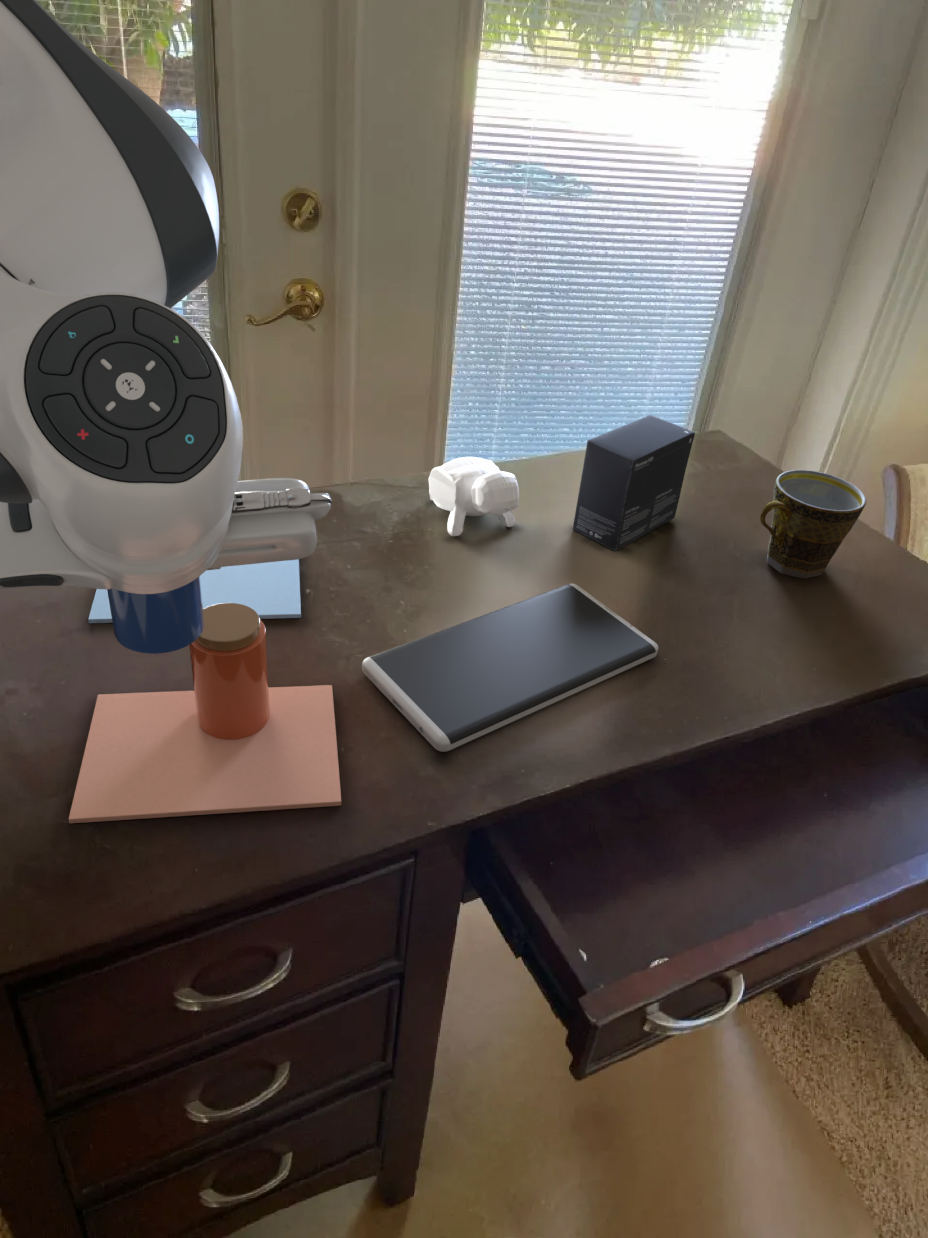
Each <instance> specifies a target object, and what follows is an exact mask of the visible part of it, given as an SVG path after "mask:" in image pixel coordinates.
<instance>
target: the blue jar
mask: <svg viewBox="0 0 928 1238" xmlns="http://www.w3.org/2000/svg"><path fill="white" fill-rule="evenodd" d="M107 592H108V598H109V604H110V610H111V616H112V622H113V623H112V627H113V634H114V636H115V639H116V640H117V642H118V643H119V644H120V645H121V646H122V647H124V648H126V649H127V650H130V651H132V652H135V653H140V654H149V655H157V654H158V655H159V654H167V653H172V652H175V651H179V650H181V649H184V648H186V647H189V645H190V644H191V643H193V642H194V641H195V640H196V639H197V638H198V637H199V636H200V635H201V633H202V631H203V629H204V616H203V605H202V594H201V583H200V576H199V577H198V578H196V579H195V580H194V581H192V582H190V583H188V584H187V585H184V586H182V587H180V588H177V589H174V590H171V591H167V592H163V593H156V594H135V593H128V592H124V591H120V590H116V589H114V588H111V589H107Z"/></svg>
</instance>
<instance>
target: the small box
mask: <svg viewBox="0 0 928 1238" xmlns="http://www.w3.org/2000/svg"><path fill="white" fill-rule="evenodd" d="M695 436H696V431H693V430H690V429H688V428H686V427H684V426H680V425H678V424H676V423H673V422H671V421H668V420H666V419H662V418H660V417H658V416H655V415H652V414H648V415H646V416H644V417H642V418H640V419H636V420H635V421H632V422H629V423H626V424H624V425H623V426H619V427H617V428H615V429H612V430H610V431H608V432H605V433H602V434H599V435H598V436H595V437H593V438H590V439H588V440H587V441H586V447H585V454H584V459H583V466H582V470H581V477H580V482H579V483H580V484H579V490H578V494H577V495H578V496H577V502H576V507H575V514H574V518H573V525H572V530H574V531H575V532H576V533H579V534H581V535H583V536H585V537H587V538H589V539H591V540H593V541H594V542H597V543H599V544H601V545H602V546H604V547H606V548H608V549H610V550H612V551H614V552H616V551H619V550H620V549H622V548H624V547H625V546H628V545H629V544H632V543H633V542H634V541H636V540H638V539H640V538H641V537H643V536H645V535H647V534H648V533H651V532H652V531H654V530H656V529H657V528H659V527H661V526H663V525H664V524H666V523H668V522H670V521H672V520H673V519H675V518H676V513H677V510H678V505H679V502H680V497H681V492H682V487H683V483H684V480H685V474H686V472H687V471H686V470H687V467H688V463H689V458H690V455H691V451H692V447H693V443H694V440H695Z"/></svg>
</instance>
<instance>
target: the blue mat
mask: <svg viewBox="0 0 928 1238" xmlns="http://www.w3.org/2000/svg"><path fill="white" fill-rule="evenodd" d="M300 577H301V576H300V559H297V560H288V561H278V562H268V563H258V564H248V565H238V566H228V567H221V569H215V570H206V571H205V572H204V573H203V574H202V575H200V583H201V594H202V605H203V609H205V608H207V607H209V606H212V605H216V604H221V603H237V604H242V605H245V606H248V607H250V608H252V609H253V610H254V611H256V613H257V614H258V615H259V618H260V620H269V619H270V620H271V619H301V618H302V607H301V605H302V603H301V601H302V600H301V582H300V580H301V578H300ZM90 608H91V609H90V611H89V616H88V619H87V620H88V624H113V622H112V616H111V610H110V604H109V598H108V592H107V589H96V591H95V594H94V597H93V601H92V604H91V607H90Z"/></svg>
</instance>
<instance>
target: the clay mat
mask: <svg viewBox="0 0 928 1238" xmlns="http://www.w3.org/2000/svg"><path fill="white" fill-rule="evenodd" d="M333 692H334V690H333V684H325V685H324V684H323V685H322V684H321V685H305V686H304V685H300V686H299V685H298V686H275V687H273V686H272V687H269V707H270V716H269V720H268V721H267V723H266V725H265V726H264V727H263V728H262V729H261V730H260V731H258V732H257V733H255V734H253V735H251V736H248V737H245V738H241V739H234V740H226V739H219V738H215V737H213V736H210V735H208V734H207V733H205V732H204V731H203V730H202V729H201V727H200V726H199V724H198V720H197V711H196V702H195V694H194V690H177V691H176V690H175V691H174V690H173V691H153V692H150V691H149V692H128V693H127V692H126V693H103V694H101V693H100V694H97V697H96V701H95V706H94V709H93V714H92V718H91V721H90V727H89V731H88V736H87V739H86V743H85V746H84V747H85V748H84V752H83V756H82V760H81V765H80V768H79V773H78V778H77V781H76V786H75V790H74V794H73V798H72V803H71V806H70V811H69V816H68V823H69V824H83V823H85V824H86V823H95V822H96V823H99V822H113V821H127V820H128V821H129V820H145V819H159V818H172V817H173V818H174V817H175V818H176V817H188V816H205V815H217V814H218V815H219V814H234V813H248V812H249V813H250V812H263V811H264V812H265V811H278V810H279V811H280V810H295V809H296V810H297V809H308V808H310V809H311V808H323V807H338V806H342V793H341V791H342V790H341V778H340V767H339V756H338V755H339V754H338V741H337V728H336V716H335V704H334V703H335V702H334V693H333Z"/></svg>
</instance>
